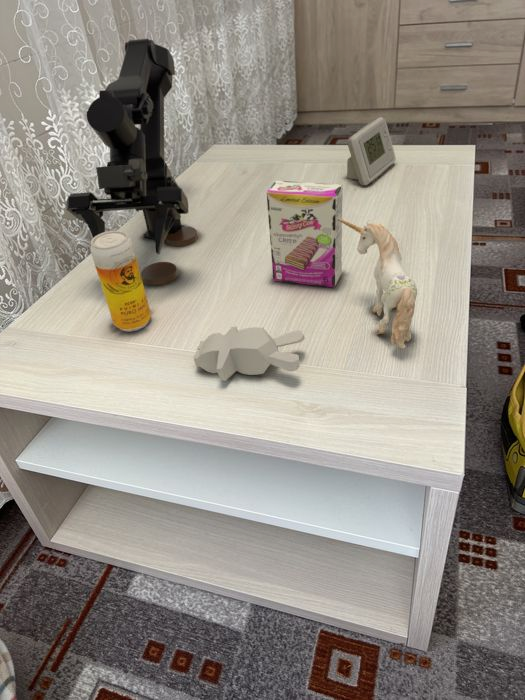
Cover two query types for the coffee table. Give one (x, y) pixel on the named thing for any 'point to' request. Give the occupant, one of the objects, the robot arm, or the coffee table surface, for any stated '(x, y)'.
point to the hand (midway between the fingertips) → (129, 255)
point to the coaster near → (159, 273)
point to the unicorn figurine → (389, 281)
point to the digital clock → (370, 152)
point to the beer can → (121, 280)
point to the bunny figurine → (246, 352)
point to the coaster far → (182, 237)
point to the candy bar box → (305, 232)
